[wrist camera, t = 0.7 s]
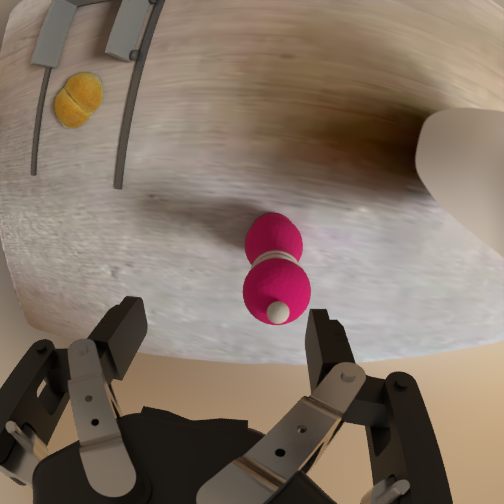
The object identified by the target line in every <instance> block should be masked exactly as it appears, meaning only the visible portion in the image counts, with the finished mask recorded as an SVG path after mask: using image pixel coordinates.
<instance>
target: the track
mask: <svg viewBox="0 0 504 504" xmlns="http://www.w3.org/2000/svg"><path fill="white" fill-rule="evenodd" d="M164 2H165V0H157V3H156V6H155V8H154V11H153V14H152V16H151V19H150V22H149V25H148V28H147V31H146V34H145V37H144V40H143V44H142V47H141V50H140V54H139V57H138V61H137V65H136V68H135V72H134V76H133V80H132V84H131V89H130V93H129V98H128V102H127V107H126V112H125V117H124V123H123V128H122V134H121V141H120V147H119V154H118V162H117V170H116V179H115V189H122V182H123V173H124V165H125V158H126V151H127V144H128V138H129V132H130V126H131V121H132V115H133V110H134V105H135V101H136V96H137V92H138V87H139V83H140V79H141V75H142V71H143V67H144V64H145V60H146V56H147V53H148V49H149V46H150V43H151V39H152V36H153V33H154V30H155V27H156V24H157V21H158V18H159V15H160V13H161V10H162V7H163V5H164ZM51 69H52V68H50V67H46V71H45V75H44V79H43V84H42V88H41V93H40V99H39V104H38V110H37V116H36V123H35V131H34V140H33V150H32V164H31V175H33V176H35V175H36V168H37V153H38V142H39V133H40V125H41V118H42V112H43V106H44V100H45V95H46V90H47V86H48V81H49V77H50V73H51Z"/></svg>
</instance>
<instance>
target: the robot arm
mask: <svg viewBox="0 0 504 504" xmlns="http://www.w3.org/2000/svg"><path fill="white" fill-rule="evenodd" d="M146 333H147V319H146V314H145V309H144V304H143V300H142V298H141V297H133V296H126V297H125V298H124V299H123V301H122V302H121V303H120V305H115V306H114V307H112V308H111V309H109V310H108V312H107V313H106V314H105V315H104V317H103V318H102V319H101V321H100V322H99V323H98V325H97V326H96V327H95V329H94V330H93V331H92V332H91V334H90V335H89V337H88V338H87V339H79V340H76V341H75V342H73V343H72V344H71V345H70V346H69V348H68V349H55V347H54V344H53V343H52V341H50V340H47V339H43V340H39V341H37V342H35V343H34V344H33V345H32V346H31V347H30V348H29V350H28V351H27V352H26V354H25V355H24V356H23V358H22V359H21V360H20V362H19V363H18V365H17V366H16V367H15V368H14V370H13V371H12V373H11V374H10V376H9V377H8V379H7V380H6V382H5V383H4V384H3V386H2V387H1V389H0V471H1V472H2V473H4V474H5V475H6V476H8V477H10V478H11V479H12V480H13V481H15V482H16V483H17V484H19V485H28V486H30V487H32V488H33V504H337V503H336V502H335V501H333V500H332V499H331V498H330V497H329V496H328V495H327V494H326V493H325V492H324V491H323V490H322V489H321V488H320V487H319V486H318V485H317V484H316V483H314V482H313V481H312V480H311V479H310V478H309V477H308V476H307V474H308V473H309V472H310V470H311V469H312V468H313V467H314V465H315V464H316V463H317V462H318V460H319V459H320V457H321V456H322V454H323V453H324V451H325V450H326V448H327V447H328V446H329V445H330V443H331V442H332V441H333V439H334V438H335V436H336V435H337V434H338V432H339V431H340V429H341V428H342V426H343V425H344V424H345V422H348V423H353V424H359V425H364V426H365V429H366V435H367V441H368V447H369V455H370V462H371V469H372V477H373V485H374V487H373V488H372V489H371V490H369V491H368V492H367V493H366V494H365V495H364V496H363V498H362V499H361V503H360V504H453V501H452V496H451V493H450V488H449V483H448V479H447V476H446V471H445V467H444V464H443V460H442V457H441V454H440V450H439V446H438V443H437V440H436V437H435V434H434V430H433V427H432V424H431V421H430V418H429V415H428V412H427V410H426V407H425V404H424V401H423V398H422V396H421V393H420V390H419V388H418V385H417V383H416V380H415V379H414V378H413V377H412V376H411V375H409V374H407V373H405V372H393V373H391V374H389V375H388V376H387V378H386V379H380V378H375V377H370V376H367V375H366V374H365V371H364V370H363V369H362V368H361V367H360V366H359V365H357V364H356V363H355V360H354V357H353V354H352V351H351V348H350V345H349V342H348V339H347V336H346V333H345V330H344V327H343V326H342V325H341V324H340V322H339V321H338V320H330V319H329V316H328V312H327V310H326V309H310V311H309V317H308V323H307V329H306V335H305V350H306V357H307V364H308V371H309V379H310V387H311V395H310V396H309V397H307V396H304V397H302V398H301V399H300V400H299V401H298V402H297V403H296V405H295V406H294V407H293V408H292V409H291V410H290V411H289V412H288V413H287V414H286V415H285V416H284V417H283V418H282V419H281V420H280V421H279V422H278V423H277V424H276V425H275V426H274V427H273V428H272V429H271V430H270V431H269V432H268V433H267V434H266V435H265V434H263V433H261V432H259V431H257V430H254V429H251V428H248V420H235V419H223V418H219V419H209V420H196V421H195V420H194V421H193V420H189V419H186V418H184V417H181V416H179V415H176V414H173V413H171V412H169V411H165V410H160V409H155V408H150V407H145V406H143V409H142V411H141V413H134V414H128V415H125V416H123V415H122V412H121V410H120V407H119V404H118V401H117V398H116V395H115V393H114V390H113V387H112V384H111V382H112V380H113V379H117V380H123V378H124V375H125V374H126V372H127V370H128V368H129V366H130V364H131V362H132V360H133V358H134V356H135V354H136V353H137V351H138V349H139V347H140V345H141V343H142V341H143V339H144V338H145V336H146ZM43 379H44V381H45V382H46V385H45V387H44V389H43V390H42V392H41V394H40V395H39V397H38V398H37V389H38V387H39V386H40V384H41V382H42V381H43ZM69 399H70V400H71V406H72V411H73V416H74V421H75V425H76V429H77V434H78V438H79V440H78V441H76V442H74V443H72V444H71V445H69V446H67V447H65V448H63V449H61V450H59V451H57V452H55V453H53V454H51V455H49V456H48V449H47V445H48V442H49V440H50V438H51V436H52V434H53V432H54V430H55V427H56V425H57V423H58V421H59V419H60V417H61V415H62V413H63V411H64V409H65V407H66V405H67V403H68V401H69Z"/></svg>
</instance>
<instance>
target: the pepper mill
mask: <svg viewBox="0 0 504 504" xmlns="http://www.w3.org/2000/svg"><path fill="white" fill-rule="evenodd" d="M302 250H303V243H302V237H301V234H300V232H299V231H298V229H297V228H296V226H295V225H294V224H292V222H291V221H290V220H289V219H288V218H287V217H285V216H283V215H281V214H278V213H269V214H265V215H263V216H261V217H259V218H258V219H257V220H256V221H255V222H254V224H253V226H252V227H251V228H250V230H249V231H248V233H247V235H246V239H245V253H246V256H247V259H248V260H249V262H250V264H251V265H252V267H251V270H250V271H249V273H248V275H247V276H246V278H245V281H244V285H243V298H244V303H245V305H246V307H247V309H248V310H249V312H250V313H251V314H252V315H253V316H254V317H255V318H256V319H258V320H260V321H261V322H264V323H266V324H270V325H283V324H287V323H289V322H292V321H294V320H295V319H297V318H298V317H299V316H300V315H301V314H302V313H303V312H304V311H305V310H306V308H307V306H308V304H309V301H310V296H311V287H310V282H309V279H308V277H307V275H306V273H305V272H304V270H303V269H302V268H301V267H300V265H299V263H298V262H299V260H300V257H301V255H302Z"/></svg>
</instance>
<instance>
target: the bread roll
mask: <svg viewBox="0 0 504 504" xmlns="http://www.w3.org/2000/svg"><path fill="white" fill-rule="evenodd" d="M102 100H103V87H102V81H101V80H100V78H99V77H98V76H97V75H95V74H93V73H90V72H82V73H78V74H76V75H74V76H72V77H71V78H70V79H69V80H68V81H67V82H66V84H65V86H64V87H63V89H62V90H61V91H60V92H59V93H58V94H57V97H56V99H55V102H54V110H55V114H56V117H57V118H58V119H59V121H60V122H61V124H62V125H63V126H64V127H65V128H77V127H79V126H81V125H82V124H84V123H85V122H86V121H87V120H88V119H89V117H90V116H91V115H92V114H93V113H94V111H96V110H97V109H98V107H99V106H100V105H101V103H102Z"/></svg>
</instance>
